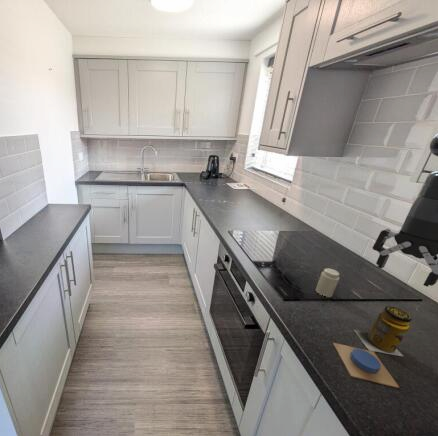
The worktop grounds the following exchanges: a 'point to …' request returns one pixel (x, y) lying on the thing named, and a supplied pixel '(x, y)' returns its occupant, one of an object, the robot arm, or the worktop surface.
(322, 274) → the jar
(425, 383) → the worktop surface
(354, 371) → the coaster
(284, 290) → the worktop surface
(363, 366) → the lid
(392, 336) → the condiment
